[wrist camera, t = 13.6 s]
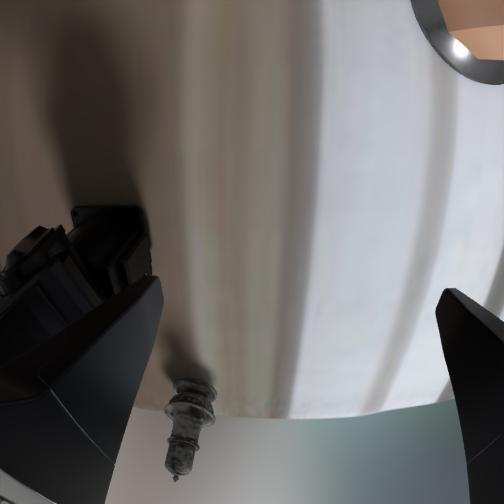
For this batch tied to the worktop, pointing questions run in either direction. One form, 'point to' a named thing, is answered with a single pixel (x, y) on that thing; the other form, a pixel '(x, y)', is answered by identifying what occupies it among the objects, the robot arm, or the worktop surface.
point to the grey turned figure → (187, 423)
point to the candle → (455, 46)
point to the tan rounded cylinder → (476, 25)
